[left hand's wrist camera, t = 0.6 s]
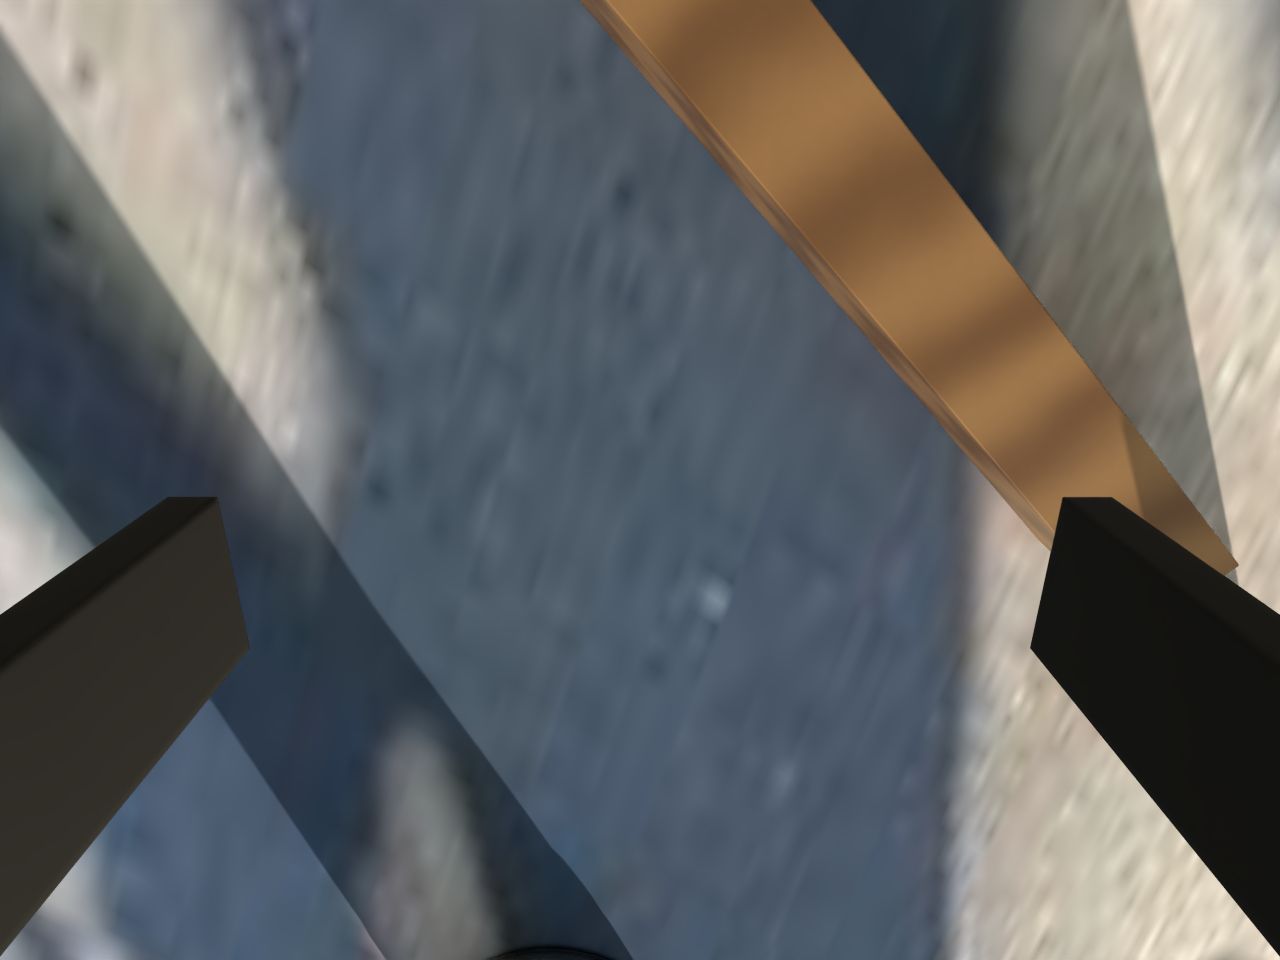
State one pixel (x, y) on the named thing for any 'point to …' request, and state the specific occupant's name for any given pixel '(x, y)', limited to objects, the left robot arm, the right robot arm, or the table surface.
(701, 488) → the table surface
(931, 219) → the bar
